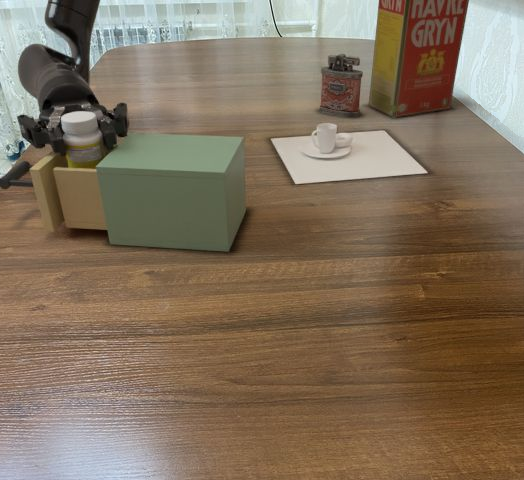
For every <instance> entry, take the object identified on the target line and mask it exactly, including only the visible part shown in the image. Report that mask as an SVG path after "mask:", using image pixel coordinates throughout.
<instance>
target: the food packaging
mask: <svg viewBox="0 0 524 480" xmlns="http://www.w3.org/2000/svg"><path fill="white" fill-rule="evenodd" d="M469 3H470V0H378V4H377V5H378V6H377V17H376V26H375V27H376V28H375V36H374V48H373V56H372V57H373V59H372V68H371V77H370V86H369V87H370V88H369V97H368V105H367V106H368V107H370V108H372V109H374V110H376V111H379V112H381V113H382V114H385V115H386V116H389V117H391V118H393V119H396V118H402V117H409V116H415V115H421V114H427V113H433V112H439V111H445V110H451V106H452V101H453V94H454V87H455V81H456V75H457V70H458V63H459V59H460V53H461V48H462V42H463V36H464V30H465V25H466V19H467V14H468V8H469Z"/></svg>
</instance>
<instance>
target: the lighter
mask: <svg viewBox="0 0 524 480" xmlns="http://www.w3.org/2000/svg"><path fill="white" fill-rule="evenodd" d="M327 64H328V66H322V67H321V68H320V74H321V86H320V87H321V88H320V89H321V91H320V105H319V112H320V113H323V114H327V115H331V116H336V117H342V118H351V119H352V118H359V117H360V113H361V112H360V101H361V100H360V99H361V89H362V88H361V86H362V78H363V73H364V72H363V71H362V70H359V69H354V66H355V67H358V66H360V64H361V59H360V57H359V56H352V55H346V54H345V53H339V54H337V55H335V54H328V55H327Z"/></svg>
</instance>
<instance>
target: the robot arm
mask: <svg viewBox="0 0 524 480" xmlns="http://www.w3.org/2000/svg"><path fill="white" fill-rule="evenodd" d="M100 4H101V0H47V4H46V9H45V12H44V17H43V19H44V24H45V25H46V27H47V28H48V29H49V30H50V31H52V32H53V33H54V34H56V35H58V36H59V37H60V38H62V40H64V41H65V42H66V44H67V45H68V46H69V50H70V55H71V56H70V55H67V54H65V53H63V52H60V51H58V50H56V49H54V48H52V47H50V46H48V45H45V44H41V43H32V44H29V45H27V46H26V47H25V48H24V49H23V50H22V52H21V54H20V55H19V59H18V62H17V75H18V79H19V83H20V85H21V86H22V88H23V89H24V90H25V92H26V93H28V95H30V96H31V97H33V98H34V99H36V100H37V105H38V111H39V115H38V118H34V116H28V115H27V114H23V113H22V114H19V115H17V116H16V119H17V122H18V126H19V127H18V128H19V130H20V135H21V138H23V139H24V140H25V141H26V142H28V143H29V144H30V145H31V146H33V147H34V149H35V148H36V149H40V150H41V149H43V148H46V145H50V147H51V151H52V150H53V152H54V153H60V156H67V154H66V149H65V144H64V140H63V134H64V133H65V132H64V131H63V129H62V123H61V117H62V116H63V115H65V114H68V113H71V112H78V111H87V112H92V113H94V114H95V115H96V118H97V123H98V128H97V129H98V130H100V131H101V132H102V134H103V139H104V145H105V146H106V148H107V150H110V149H113V145H118V138H125V137H126V136H127V135H128V134H129V128H130V118H129V117H130V116H129V112H128V104H127V103H126V102H119V103H117V104H116V106H113V107H112V109H107V107H106V106H104V105H102V104H100V102H99V100H98V98H97V96H96V95H95V93H94V91H93V90H92V88H91V87H90V86H91V42H92V35H93V30H94V26H95V22H96V18H97V15H98V12H99V8H100Z"/></svg>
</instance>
